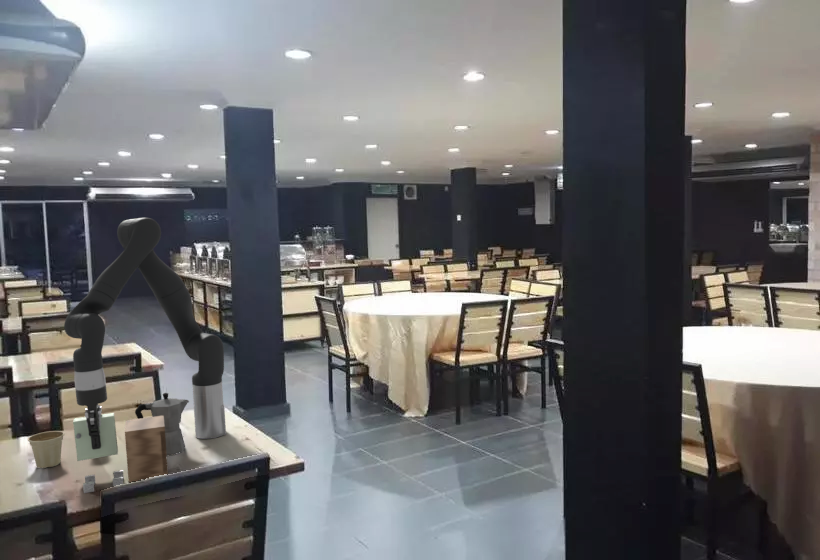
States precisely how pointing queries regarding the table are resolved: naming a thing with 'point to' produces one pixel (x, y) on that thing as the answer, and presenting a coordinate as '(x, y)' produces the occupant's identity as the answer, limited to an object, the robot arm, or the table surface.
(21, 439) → the table surface
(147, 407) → the coffeepot
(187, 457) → the table surface
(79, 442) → the door panel
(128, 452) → the brown wooden box
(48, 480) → the table surface
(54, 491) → the table surface
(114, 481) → the small rectangular blocks
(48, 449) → the flower pot
